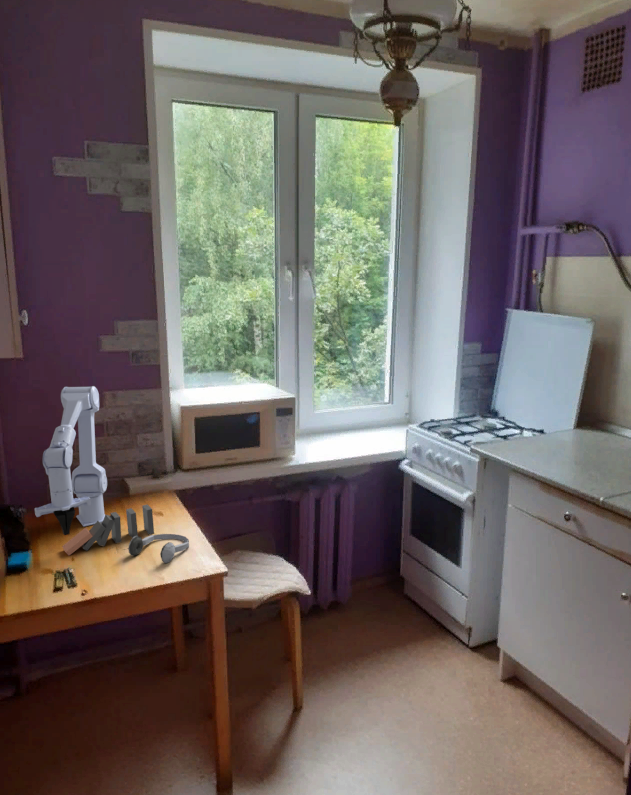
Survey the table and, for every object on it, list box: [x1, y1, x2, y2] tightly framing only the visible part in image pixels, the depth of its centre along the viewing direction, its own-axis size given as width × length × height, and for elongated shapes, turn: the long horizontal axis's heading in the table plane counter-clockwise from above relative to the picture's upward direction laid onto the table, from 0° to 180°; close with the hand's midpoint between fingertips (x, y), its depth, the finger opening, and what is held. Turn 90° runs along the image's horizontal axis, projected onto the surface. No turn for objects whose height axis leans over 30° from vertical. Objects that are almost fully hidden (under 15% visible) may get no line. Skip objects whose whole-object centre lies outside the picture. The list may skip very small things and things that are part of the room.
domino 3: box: [95, 514, 115, 547], centre depth 179 cm, size 4×2×8 cm, turn 34°
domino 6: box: [141, 504, 155, 535], centre depth 186 cm, size 4×2×8 cm, turn 34°
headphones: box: [107, 533, 190, 564], centre depth 173 cm, size 17×6×20 cm
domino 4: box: [109, 511, 122, 544], centre depth 181 cm, size 4×2×8 cm, turn 34°
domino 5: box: [125, 507, 139, 539], centre depth 183 cm, size 4×2×8 cm, turn 34°
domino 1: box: [61, 527, 93, 556], centre depth 175 cm, size 4×2×8 cm
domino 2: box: [81, 521, 106, 552], centre depth 177 cm, size 4×2×8 cm
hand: (66, 533), depth 173 cm, fingers closed
